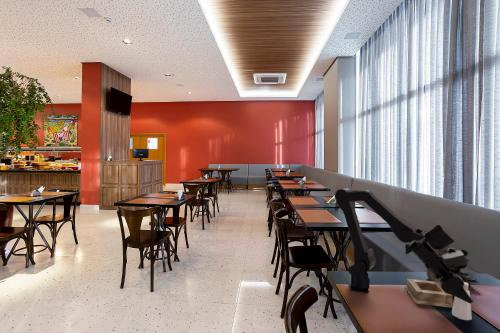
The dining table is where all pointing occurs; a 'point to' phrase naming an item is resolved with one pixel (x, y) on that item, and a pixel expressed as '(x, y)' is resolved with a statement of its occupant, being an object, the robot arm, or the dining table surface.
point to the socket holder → (428, 293)
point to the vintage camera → (464, 276)
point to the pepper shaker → (462, 306)
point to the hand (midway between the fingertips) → (467, 296)
